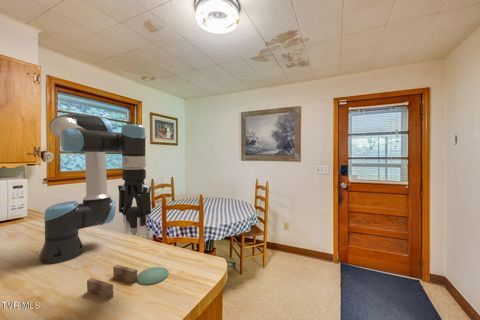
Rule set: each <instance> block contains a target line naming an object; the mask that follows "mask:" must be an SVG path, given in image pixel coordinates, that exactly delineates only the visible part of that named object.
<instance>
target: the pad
mask: <svg viewBox="0 0 480 320" xmlns="http://www.w3.org/2000/svg"><path fill="white" fill-rule="evenodd" d="M168 277H169V270H168V269H167V268H166V267H163V266H153V267H150V268H146V269H144V270H142V271H141V272H139V273H137V281H136V282H137V283H138V284H140V285H143V286H150V285H155V284H158V283H161V282H163V281H164V280H166V279H167V278H168Z"/></svg>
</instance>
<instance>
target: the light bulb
mask: <svg viewBox="0 0 480 320" xmlns="http://www.w3.org/2000/svg"><path fill="white" fill-rule="evenodd" d="M142 213H143V212H142ZM125 216H126V220H127V221H128V223H129V225H130V228H131V232H130V234H132V235H133V236H137V216H139V213H138V209H137V205H136V206H132V207H131V208H129V209H128V210H127V212H126V215H125Z"/></svg>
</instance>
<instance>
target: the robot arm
mask: <svg viewBox="0 0 480 320" xmlns="http://www.w3.org/2000/svg"><path fill="white" fill-rule="evenodd" d="M48 125H49V127H48V128H49V130H50V133H52V135H54V136H55V137H57V138H58V139H60V147H61V149H62V150H63V151H64V152H73V153H84V160H85V161H84V162H85V164H84V165H85V187H86V189H85V190H86V191H85V192H86V196H85V197H84V198H82V203H79V202H78V201H76V200H72V201H64V202H61V203H56V204H53V205H50V206H49V207H47V208H46V209H45V210H44V218H43V220H44V243H43V246H42V249H41V250H40V251H41V252H40V253H39V262H40V263H42V264H47V265H48V264H57V263H62V262H66V261H69V260H72V259H75V258H77V257H79V256H80V255H82V254H83V253H84V245H83V243H82V241H81V239H80V235H79V230H81V229H85V228H90V227H96V226H102V225H105V224H109V223H111V222H112V221H113V220H114V218H115V215H116V210H117V209H116V207H117V206H116V202H115V200H114V199H113V198H112V197H111V195H109V194H108V182H107V159H106V158H107V157H106V153H118V154H121V157H122V158H121V161H122V162H121V165H122V168H123V169H122V171H121V179H122V181H124V183H123V184H121V185H118V186H117V187H118V188H117V189H118V213H121V214H122V216H123V224H124V225H123V226H124V229H123V230H124V235H125V234H126V235H127V234H129V233H130V234H131V228H130V225H129V223H128V221H127V220H126V216H125V215H126V212H127V210H128V209H129V208H131V207H133V201H134V200H135V204H136V207H137V209H138V213H139V216H137V234H136V236H137V237H140V236H144V235H146V225H147V216H149V215H151V214H152V208H151V207H152V206H151V205H152V204H151V191H152V187H151V186H147V185H146V184H145V180H146V179H147V177H146V175H147V172H146V171H147V170H146V169H145V168H146V166H147V164H146V163H147V161H146V160H147V159H146V139H147V135H146V128H145V127H144V126H143V125H142V124H132V123H131V124H127V123H126V124H123V125H122V126H121V131H120V132H114V131H113V126H112V124H111V121H110V120H109V119H108V118H104V117H100V116H91V115H83V114H74V113H73V114H72V113H65V114H59V115H57V116H55V117H53V118H52V119H51V120H50V122H49V124H48ZM142 212H143V213H142Z"/></svg>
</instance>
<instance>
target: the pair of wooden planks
mask: <svg viewBox="0 0 480 320" xmlns="http://www.w3.org/2000/svg"><path fill="white" fill-rule="evenodd" d="M112 271H113V278H115V279H118V280H120V281H121V280H122V281H126V282H128V283H132V284H135V283H136V282H137V276H138V269H136V268H131V267H128V266H124V265H119V264H115V265H114V266H113V270H112ZM86 292H87V294H91V295H93V296H96V297H99V298H102V299H104V300H105V299H106V300H108V301H109V300H111V299H112V298H114V284H113V283H109V282H105V281H103V280H100V279H96V278H93V277H91V278H88V279H87V280H86Z"/></svg>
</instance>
